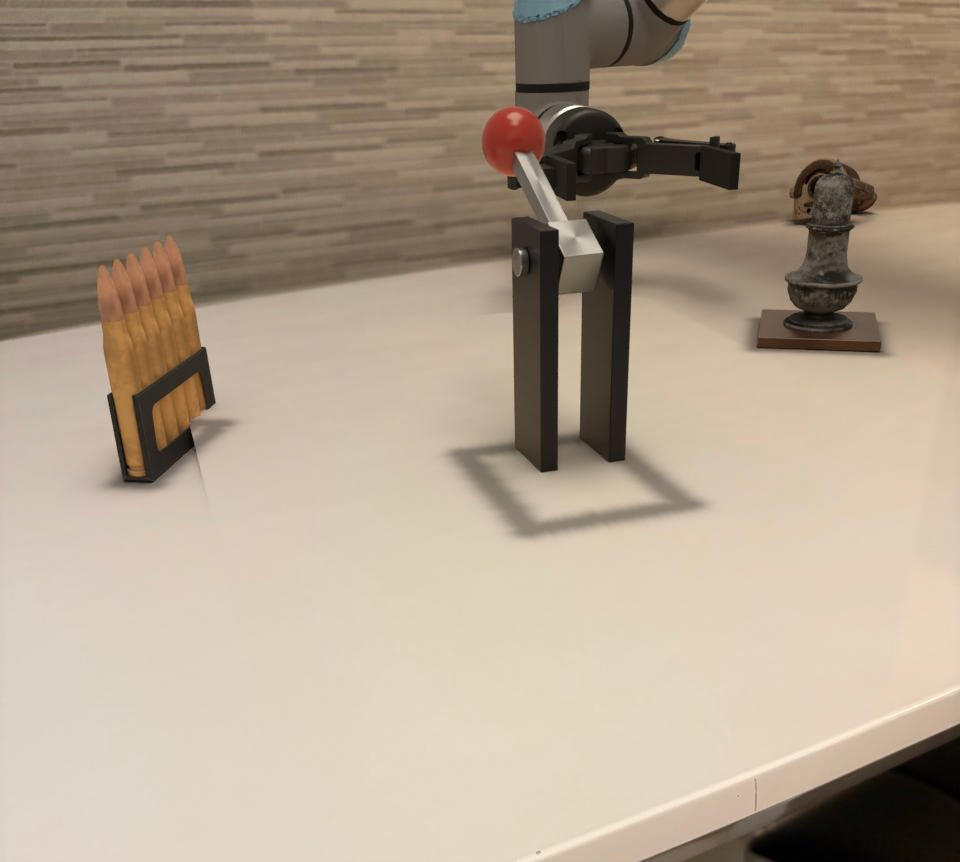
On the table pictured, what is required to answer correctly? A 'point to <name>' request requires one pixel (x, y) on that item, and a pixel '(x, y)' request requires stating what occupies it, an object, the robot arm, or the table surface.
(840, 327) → the salt shaker
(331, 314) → the table surface
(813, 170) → the mechanical counter
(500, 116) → the lever
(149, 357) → the ammunition clip
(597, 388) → the bracket
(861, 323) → the coaster
